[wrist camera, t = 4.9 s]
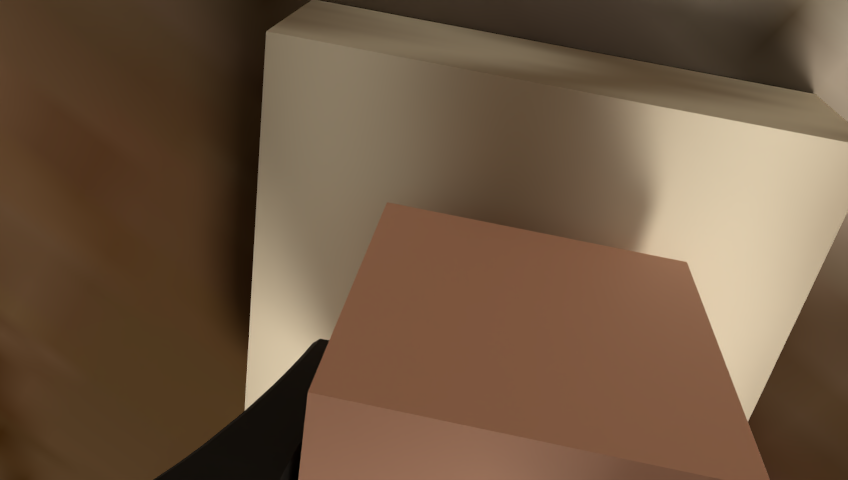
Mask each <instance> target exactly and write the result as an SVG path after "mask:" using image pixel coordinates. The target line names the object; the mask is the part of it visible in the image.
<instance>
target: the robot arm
mask: <svg viewBox="0 0 848 480" xmlns="http://www.w3.org/2000/svg"><path fill="white" fill-rule="evenodd" d="M328 342H329V340H325V339H319V340H317V341H315V342H314V343H312V344H311V346H310V347H309V348H308V349H307V350H306V351H305V353H304V354H303V355H302V356H301V357H300V358H299V359H298V360H297V361H296V362H295V363H294V364H293V365H292V367H291V368H290V369H289V370H288V371H287V372H286V373H285V374H284V375H283V376H282V377H281V378H280V379H279V380H278V381H277V382H276V383H275V384H274V385H272V386H271V387H270V388H269V389H268V390H267V391H266V392H265V393H264V394H263V395H262V396H260V397H259V398H258V399H257V400H256V401H255V402H254V403H253V404H252V405H251V406H250V407H248V408H247V409H246V410H245V411H244V412H243V413H242V414H241V415H239V416H238V417H237V418H236V419H235V420H233V421H232V422H231V423H230V424H228V425H227V426H226V427H225V428H223V429H222V430H221V431H220V432H218V433H217V434H216V435H215V436H214V437H212V438H211V439H210V440H209V441H207V442H206V443H205V444H204V445H202V446H201V447H200V448H198V449H197V450H195V451H194V452H193V453H191V454H190V455H189V456H187V457H186V458H185V459H183V460H182V461H180V462H179V463H177V464H176V465H175V466H173V467H172V468H170V469H169V470H167V471H166V472H164V473H163V474H161V475H160V476H158V477H157V478H155V479H154V480H298V477H299V468H300V459H301V450H302V441H303V431H304V422H305V413H306V404H307V395H308V390H309V388H310V386H311V383H312V381H313V378H314V376H315V374H316V371H317V369H318V366H319V364H320V362H321V359H322V357H323V354H324V352H325V350H326V347H327V345H328Z"/></svg>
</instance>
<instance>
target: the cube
mask: <svg viewBox="0 0 848 480" xmlns="http://www.w3.org/2000/svg"><path fill="white" fill-rule="evenodd" d="M298 480H770V479H769V477H768V474H767V471H766V469H765V466H764V463H763V461H762V458H761V455H760V453H759V450H758V448H757V445H756V442H755V440H754V437H753V434H752V432H751V429H750V427H749V424H748V421H747V419H746V416H745V413H744V411H743V408H742V406H741V403H740V400H739V398H738V395H737V392H736V390H735V387H734V385H733V382H732V379H731V377H730V374H729V371H728V369H727V366H726V364H725V361H724V358H723V356H722V353H721V350H720V348H719V345H718V343H717V340H716V337H715V335H714V332H713V329H712V327H711V324H710V322H709V319H708V316H707V314H706V311H705V308H704V306H703V303H702V301H701V298H700V295H699V293H698V290H697V287H696V285H695V282H694V280H693V277H692V274H691V272H690V269H689V266H688V264H687V262H684V261H679V260H674V259H669V258H664V257H659V256H654V255H649V254H644V253H639V252H634V251H629V250H624V249H619V248H614V247H609V246H604V245H599V244H594V243H589V242H584V241H579V240H574V239H569V238H564V237H559V236H554V235H549V234H544V233H539V232H534V231H529V230H524V229H519V228H514V227H509V226H504V225H499V224H494V223H489V222H484V221H479V220H474V219H469V218H464V217H459V216H454V215H449V214H444V213H439V212H434V211H429V210H424V209H419V208H414V207H409V206H404V205H399V204H394V203H389V202H387V203H386V206H385V208H384V211H383V213H382V215H381V218H380V220H379V222H378V225H377V227H376V230H375V232H374V234H373V237H372V239H371V242H370V244H369V246H368V249H367V251H366V254H365V256H364V258H363V261H362V263H361V266H360V268H359V270H358V273H357V275H356V278H355V280H354V282H353V285H352V287H351V290H350V292H349V294H348V297H347V299H346V302H345V304H344V306H343V309H342V311H341V314H340V316H339V318H338V321H337V323H336V326H335V328H334V330H333V333H332V335H331V338H330V340H329V342H328V345H327V347H326V350H325V352H324V354H323V357H322V359H321V362H320V364H319V366H318V369H317V371H316V374H315V376H314V378H313V381H312V383H311V386H310V388H309V390H308V395H307V404H306V413H305V422H304V431H303V441H302V450H301V459H300V468H299V477H298Z"/></svg>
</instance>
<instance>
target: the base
mask: <svg viewBox="0 0 848 480" xmlns="http://www.w3.org/2000/svg"><path fill="white" fill-rule="evenodd" d="M387 202H389V203H394V204H399V205H404V206H409V207H414V208H419V209H424V210H429V211H434V212H439V213H444V214H449V215H454V216H459V217H464V218H469V219H474V220H479V221H484V222H489V223H494V224H499V225H504V226H509V227H514V228H519V229H524V230H529V231H534V232H539V233H544V234H549V235H554V236H559V237H564V238H569V239H574V240H579V241H584V242H589V243H594V244H599V245H604V246H609V247H614V248H619V249H624V250H629V251H634V252H639V253H644V254H649V255H654V256H659V257H664V258H669V259H674V260H679V261H684V262H687V264H688V266H689V269H690V272H691V274H692V277H693V280H694V282H695V285H696V287H697V290H698V293H699V295H700V298H701V301H702V303H703V306H704V308H705V311H706V314H707V316H708V319H709V322H710V324H711V327H712V329H713V332H714V335H715V337H716V340H717V343H718V345H719V348H720V350H721V353H722V356H723V358H724V361H725V364H726V366H727V369H728V371H729V374H730V377H731V379H732V382H733V385H734V387H735V390H736V392H737V395H738V398H739V400H740V403H741V406H742V408H743V411H744V413H745V416H746V419H747V421H748V420H749V418H750V416H751V414H752V412H753V410H754V408H755V406H756V403H757V401H758V399H759V397H760V395H761V393H762V391H763V389H764V387H765V384H766V382H767V380H768V378H769V376H770V374H771V372H772V370H773V368H774V365H775V363H776V361H777V359H778V357H779V355H780V353H781V351H782V349H783V346H784V344H785V342H786V340H787V338H788V336H789V334H790V332H791V330H792V328H793V325H794V323H795V321H796V319H797V317H798V315H799V313H800V311H801V309H802V306H803V304H804V302H805V300H806V298H807V296H808V294H809V292H810V290H811V287H812V285H813V283H814V281H815V279H816V277H817V275H818V273H819V271H820V268H821V266H822V264H823V262H824V260H825V258H826V256H827V254H828V252H829V249H830V247H831V245H832V243H833V241H834V239H835V237H836V235H837V233H838V230H839V228H840V226H841V224H842V222H843V220H844V218H845V216H846V214H847V212H848V122H847V121H846V120H845V119H843V118H842V117H841V116H840V115H839V114H838V113H837V112H835V111H834V110H833V109H832V108H831V107H830V106H828V105H827V104H826V103H825V102H824V101H823V100H822V99H820V98H819V97H818V96H817V95H816V94H812V93H807V92H801V91H796V90H791V89H786V88H780V87H775V86H770V85H764V84H759V83H754V82H748V81H743V80H738V79H733V78H727V77H722V76H717V75H711V74H706V73H701V72H696V71H690V70H685V69H680V68H674V67H669V66H664V65H659V64H653V63H648V62H643V61H637V60H632V59H627V58H621V57H616V56H611V55H606V54H600V53H595V52H590V51H584V50H579V49H574V48H569V47H563V46H558V45H553V44H547V43H542V42H537V41H532V40H526V39H521V38H516V37H510V36H505V35H500V34H494V33H489V32H484V31H479V30H473V29H468V28H463V27H457V26H452V25H447V24H442V23H436V22H431V21H426V20H420V19H415V18H410V17H404V16H399V15H394V14H389V13H383V12H378V11H373V10H367V9H362V8H357V7H352V6H346V5H341V4H336V3H330V2H325V1H320V0H311V1H310V2H308V3H307V4H305V5H304V6H302V7H301V8H300V9H298V10H297V11H295V12H294V13H292V14H291V15H289V16H288V17H286V18H285V19H283V20H282V21H280V22H279V23H277V24H276V25H275V26H273V27H272V28H270V29H269V30H267V31H266V43H265V60H264V78H263V96H262V114H261V131H260V149H259V167H258V185H257V202H256V220H255V238H254V256H253V273H252V291H251V309H250V326H249V344H248V362H247V380H246V397H245V410H246V409H247V408H248V407H250V406H251V405H252V404H253V403H254V402H255V401H256V400H257V399H258V398H259V397H260V396H262V395H263V394H264V393H265V392H266V391H267V390H268V389H269V388H270V387H271V386H272V385H274V384H275V383H276V382H277V381H278V380H279V379H280V378H281V377H282V376H283V375H284V374H285V373H286V372H287V371H288V370H289V369H290V368H291V367H292V365H293V364H294V363H295V362H296V361H297V360H298V359H299V358H300V357H301V356H302V355H303V354H304V353H305V351H306V350H307V349H308V348H309V347H310V346H311V344H312V343H314V342H315V341H317V340H319V339H325V340H330V338H331V335H332V333H333V330H334V328H335V326H336V323H337V321H338V318H339V316H340V314H341V311H342V309H343V306H344V304H345V302H346V299H347V297H348V294H349V292H350V290H351V287H352V285H353V282H354V280H355V278H356V275H357V273H358V270H359V268H360V266H361V263H362V261H363V258H364V256H365V254H366V251H367V249H368V246H369V244H370V242H371V239H372V237H373V234H374V232H375V230H376V227H377V225H378V222H379V220H380V218H381V215H382V213H383V211H384V208H385V206H386V203H387Z"/></svg>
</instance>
